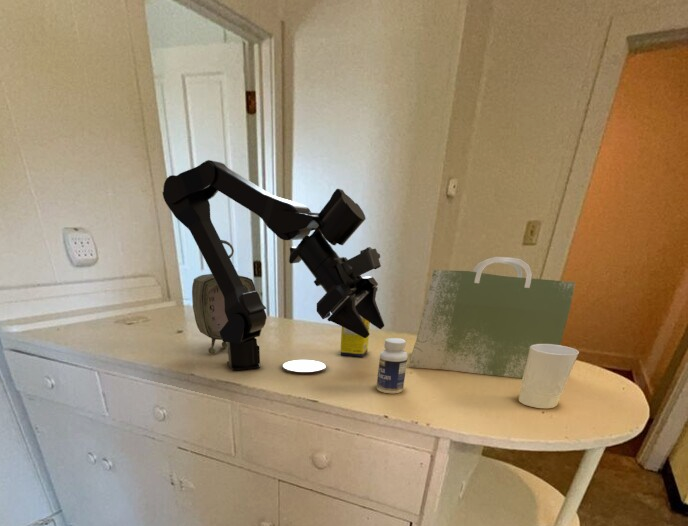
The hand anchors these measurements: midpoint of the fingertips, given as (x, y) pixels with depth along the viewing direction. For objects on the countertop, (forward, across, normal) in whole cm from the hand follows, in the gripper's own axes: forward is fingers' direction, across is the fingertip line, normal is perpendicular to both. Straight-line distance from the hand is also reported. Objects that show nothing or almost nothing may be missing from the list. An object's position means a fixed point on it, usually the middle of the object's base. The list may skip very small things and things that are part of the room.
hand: (375, 331), depth 82 cm
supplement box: (-1, +23, +17) cm, 29 cm away
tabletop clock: (-23, +12, +39) cm, 47 cm away
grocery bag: (+20, +27, -5) cm, 34 cm away
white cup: (+30, +6, -14) cm, 34 cm away
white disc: (-5, +5, +20) cm, 22 cm away
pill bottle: (+11, 0, +5) cm, 12 cm away
